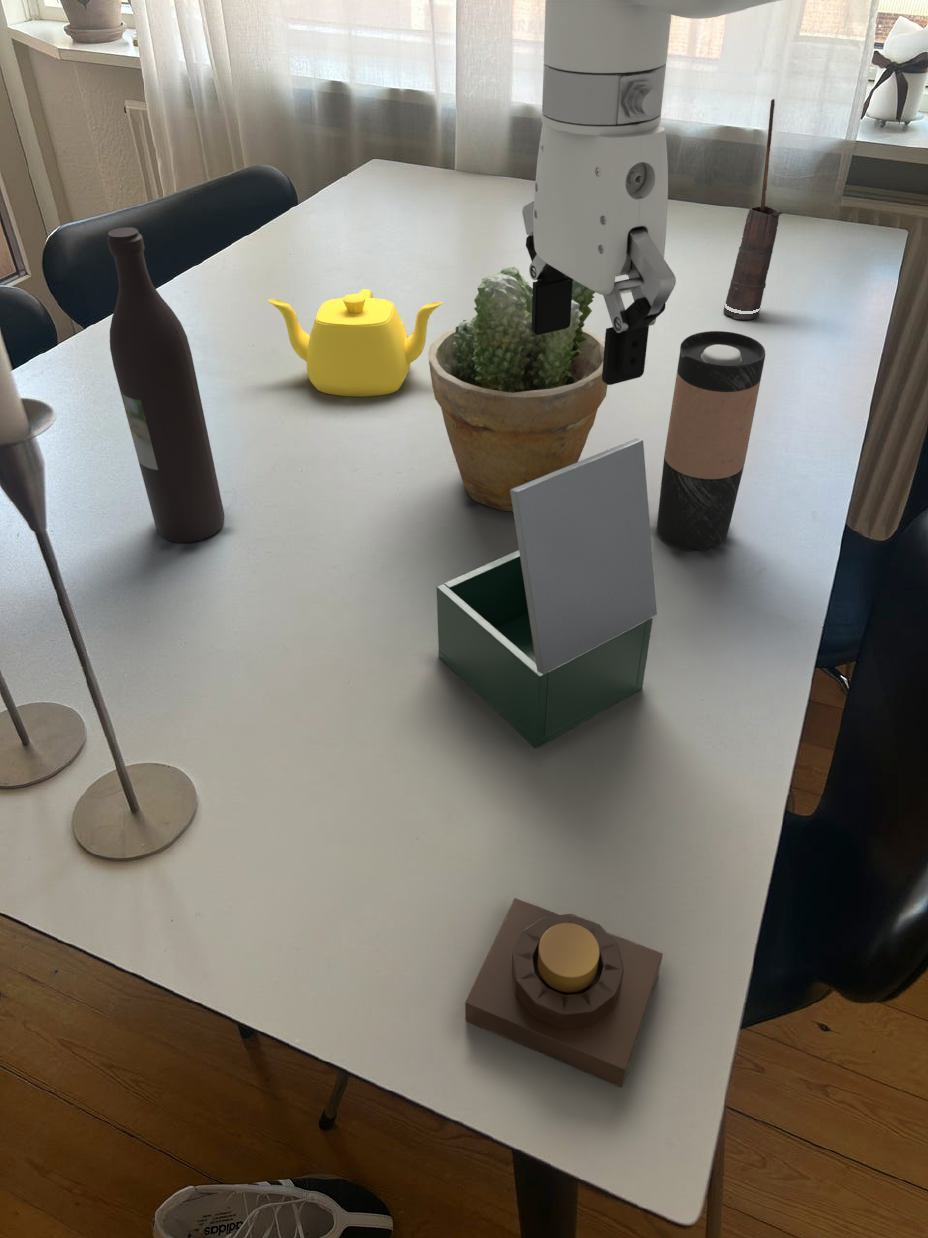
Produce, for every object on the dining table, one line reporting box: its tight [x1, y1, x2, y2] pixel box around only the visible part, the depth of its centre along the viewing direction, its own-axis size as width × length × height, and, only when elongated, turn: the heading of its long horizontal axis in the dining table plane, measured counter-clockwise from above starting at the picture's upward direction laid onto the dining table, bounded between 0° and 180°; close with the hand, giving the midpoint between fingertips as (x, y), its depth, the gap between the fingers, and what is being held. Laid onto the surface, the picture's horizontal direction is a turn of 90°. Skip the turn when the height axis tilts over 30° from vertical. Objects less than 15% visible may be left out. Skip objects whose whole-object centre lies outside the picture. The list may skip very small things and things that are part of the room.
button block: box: [464, 897, 664, 1088], centre depth 59 cm, size 10×8×4 cm
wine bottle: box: [106, 226, 225, 544], centre depth 91 cm, size 7×7×30 cm
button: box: [538, 923, 600, 993], centre depth 58 cm, size 4×4×2 cm
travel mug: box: [656, 330, 766, 553], centre depth 93 cm, size 8×8×20 cm
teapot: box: [267, 288, 443, 397], centre depth 125 cm, size 22×16×11 cm
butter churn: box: [723, 98, 784, 321], centre depth 132 cm, size 9×10×28 cm
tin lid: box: [510, 438, 658, 674], centre depth 70 cm, size 14×12×1 cm
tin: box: [435, 549, 654, 749], centre depth 81 cm, size 14×12×8 cm
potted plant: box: [427, 266, 608, 512], centre depth 98 cm, size 18×19×25 cm
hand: (585, 353), depth 71 cm, fingers open, 9 cm apart
